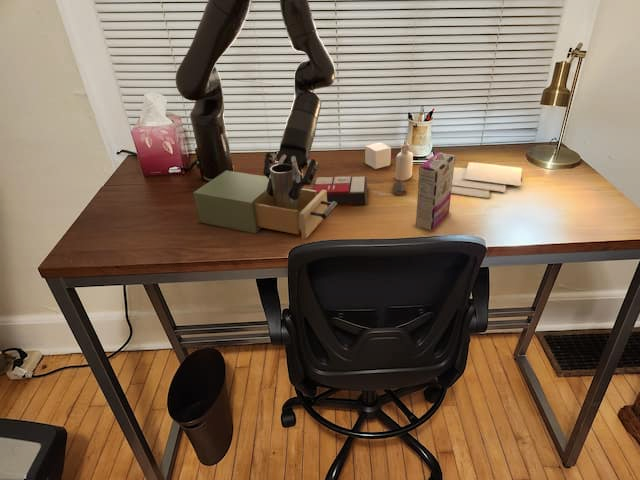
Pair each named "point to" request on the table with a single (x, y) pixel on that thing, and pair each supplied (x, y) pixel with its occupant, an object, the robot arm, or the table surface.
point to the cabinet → (231, 200)
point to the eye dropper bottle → (404, 163)
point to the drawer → (294, 213)
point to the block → (399, 188)
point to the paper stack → (484, 179)
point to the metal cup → (283, 186)
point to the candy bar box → (434, 190)
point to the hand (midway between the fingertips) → (282, 196)
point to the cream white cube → (377, 155)
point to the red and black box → (343, 189)
